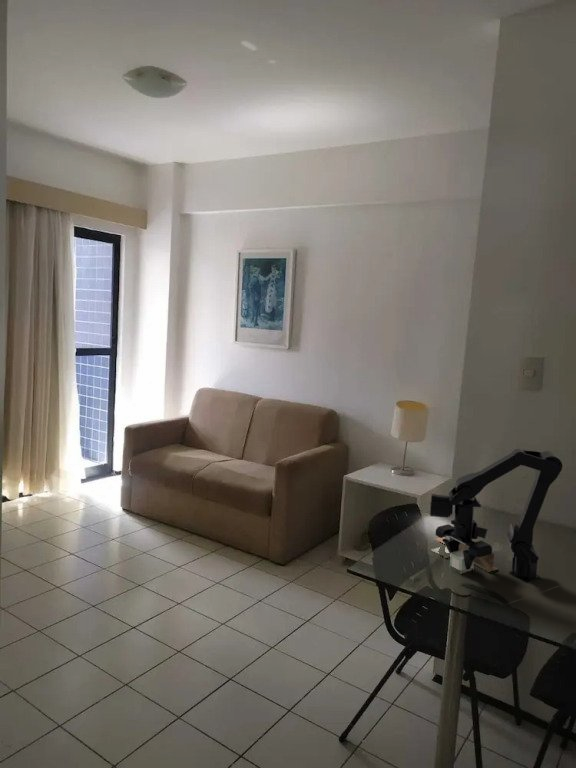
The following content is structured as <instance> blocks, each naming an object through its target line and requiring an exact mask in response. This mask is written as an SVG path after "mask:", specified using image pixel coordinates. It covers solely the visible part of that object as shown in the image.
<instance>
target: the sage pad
mask: <svg viewBox="0 0 576 768" xmlns="http://www.w3.org/2000/svg"><path fill="white" fill-rule="evenodd" d="M440 547H441V546H439V547H436V548H431V552H433V553H434V552H435V553H434V554H436V553H438V554H439V552H438V551H439V549H440ZM445 552H446V553H449V551H448V549H447V547H445ZM438 554H437V555H438Z"/></svg>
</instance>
